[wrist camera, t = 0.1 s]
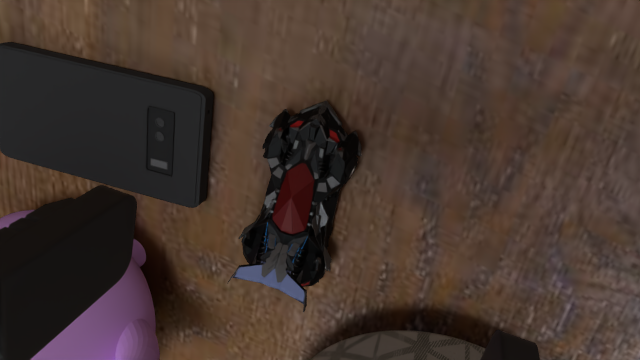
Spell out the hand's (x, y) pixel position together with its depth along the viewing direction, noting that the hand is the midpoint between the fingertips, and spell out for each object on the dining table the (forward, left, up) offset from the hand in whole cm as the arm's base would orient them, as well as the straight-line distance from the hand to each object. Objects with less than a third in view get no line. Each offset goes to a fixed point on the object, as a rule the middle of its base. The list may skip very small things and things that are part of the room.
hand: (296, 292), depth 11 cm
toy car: (+8, -4, -20) cm, 22 cm away
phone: (+8, -18, -20) cm, 28 cm away
